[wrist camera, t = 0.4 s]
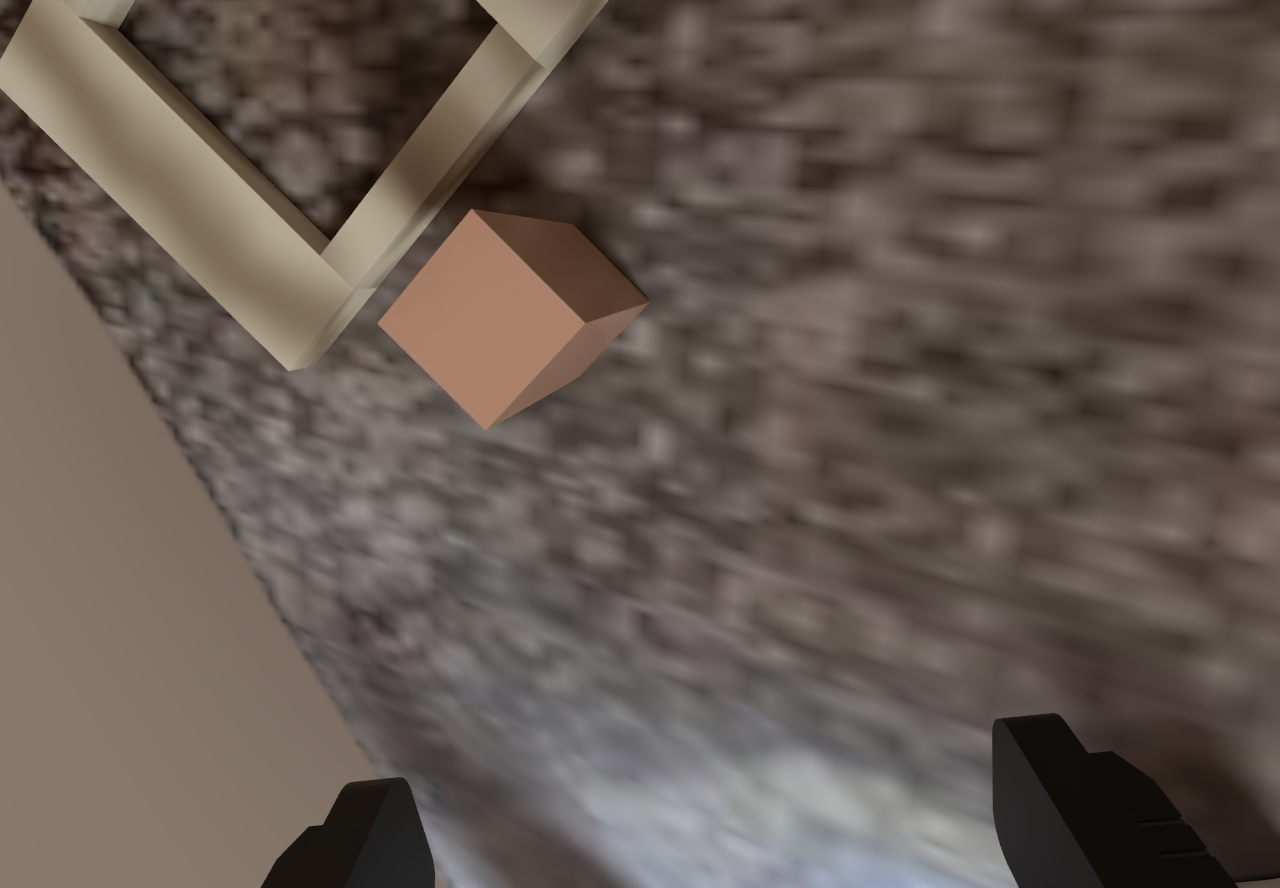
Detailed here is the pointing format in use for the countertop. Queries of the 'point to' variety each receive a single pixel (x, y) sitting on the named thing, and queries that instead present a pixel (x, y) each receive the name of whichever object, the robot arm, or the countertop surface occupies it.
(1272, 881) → the skincare box
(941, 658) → the countertop surface
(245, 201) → the beige lopsided picture frame
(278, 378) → the countertop surface
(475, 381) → the tall salmon pink block
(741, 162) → the countertop surface
